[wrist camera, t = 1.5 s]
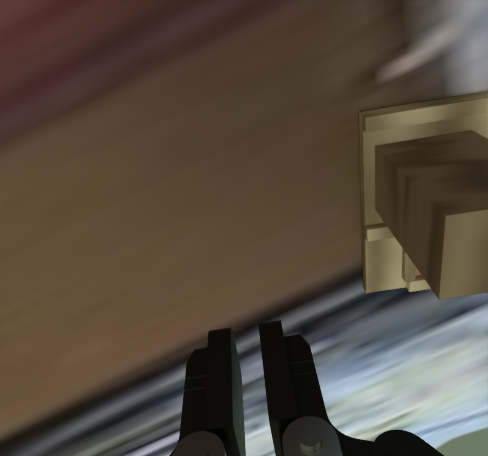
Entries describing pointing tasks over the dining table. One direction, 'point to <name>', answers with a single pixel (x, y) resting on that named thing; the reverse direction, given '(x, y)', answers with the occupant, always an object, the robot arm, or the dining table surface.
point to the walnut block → (438, 207)
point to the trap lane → (374, 133)
